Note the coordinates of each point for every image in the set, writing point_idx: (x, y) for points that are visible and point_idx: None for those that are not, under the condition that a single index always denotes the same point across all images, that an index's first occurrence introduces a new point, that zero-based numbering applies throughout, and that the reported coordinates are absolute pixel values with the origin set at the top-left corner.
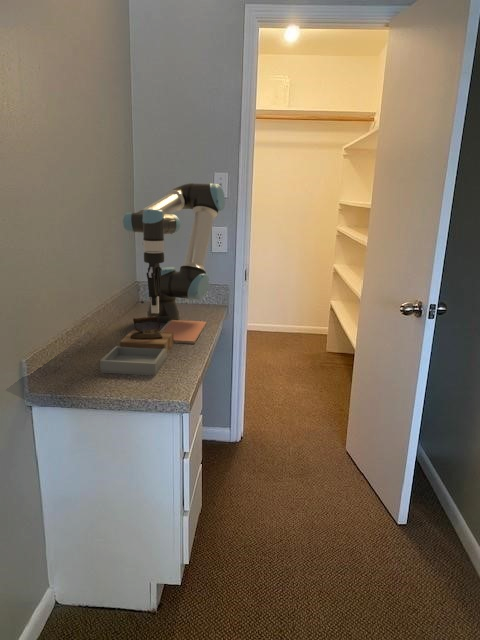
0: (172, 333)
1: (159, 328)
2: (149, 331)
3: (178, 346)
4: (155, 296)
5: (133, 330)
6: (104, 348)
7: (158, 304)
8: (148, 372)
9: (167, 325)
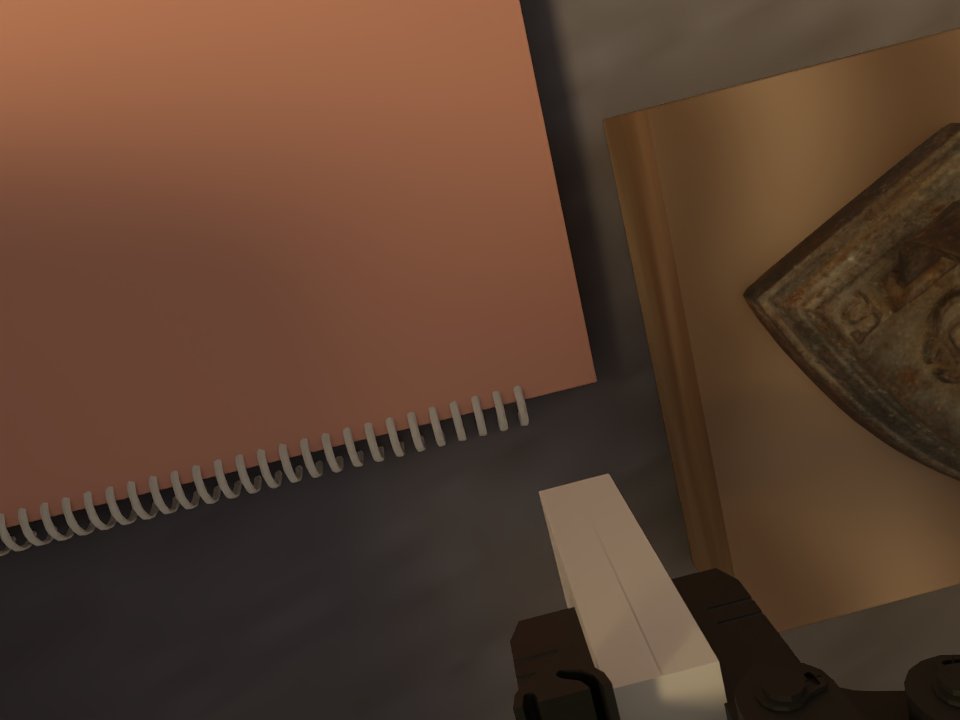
0: (701, 96)
1: (952, 205)
2: (952, 338)
3: (634, 35)
4: (825, 699)
5: None
6: None
7: (607, 561)
8: None
9: (31, 512)
